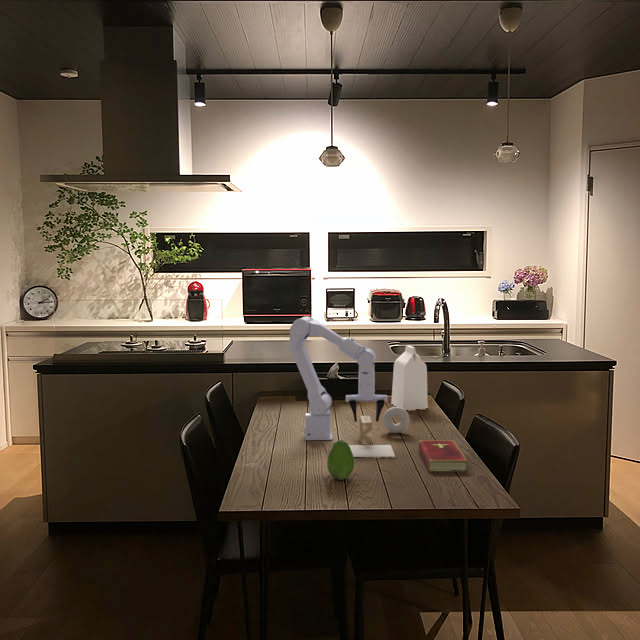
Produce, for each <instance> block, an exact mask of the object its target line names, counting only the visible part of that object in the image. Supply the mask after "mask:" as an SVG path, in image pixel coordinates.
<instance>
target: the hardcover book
mask: <svg viewBox="0 0 640 640" xmlns="http://www.w3.org/2000/svg"><path fill="white" fill-rule="evenodd" d="M418 451H419V454H420V455H421V457H422V460H423V462H424V464H425V466H426V469H427V470H429V471H428V472H451V471H450V470H466V469H467V463H468V459H467V458H466V456H465V454H464V453H463V452H462V450H461V449H460V447H459V446H458V444H457V443H456V440H453V439H452V440H451V439H448V440H446V439H445V440H444V439H441V440H440V439H438V440H437V439H436V440H435V439H434V440H433V439H431V440H430V439H423V440H422V439H420V440H419V441H418Z"/></svg>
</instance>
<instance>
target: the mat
mask: <svg viewBox="0 0 640 640" xmlns="http://www.w3.org/2000/svg"><path fill="white" fill-rule="evenodd" d="M348 445H349V447H350V449H351V451H352V454H353V457H375V458H374V459H382V458H381V457H385V458H387V457H388V458H387V459H389V457H391V458H393V459H395V458H396V455H395V454H396V453H395V452H394V450H393V447H392V445H391V444H372V445H362V444H348ZM391 458H390V459H391Z"/></svg>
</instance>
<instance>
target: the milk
mask: <svg viewBox="0 0 640 640" xmlns="http://www.w3.org/2000/svg"><path fill="white" fill-rule="evenodd" d="M392 374H393V375H392V389H391V403H390V405H392V404H393V405H392V406H393V407H395V406H396V407H401V408H403V409H405V410H408V411H417V410H416V409H420V410H427V409H426V408H428V409H429V407H428V405H429V403H428V401H429V399H428V367H427V364H426V363H425V361H424V360H422V358H421V356H420V355H419V354H418V353H417V351H416V347H414V346H412V345H408V344H406V345H405V349H404V352H402V353H401V354H400V356H398V357H397V358H396V359H395V361H394V363H393V373H392Z"/></svg>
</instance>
